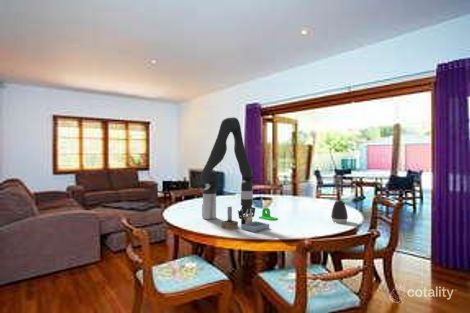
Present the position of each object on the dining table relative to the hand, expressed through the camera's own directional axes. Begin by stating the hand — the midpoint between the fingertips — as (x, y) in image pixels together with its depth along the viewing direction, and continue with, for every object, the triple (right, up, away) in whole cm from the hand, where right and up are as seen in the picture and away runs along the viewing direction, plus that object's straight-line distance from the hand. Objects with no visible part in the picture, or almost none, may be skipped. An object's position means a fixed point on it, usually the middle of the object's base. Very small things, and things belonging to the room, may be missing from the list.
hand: (246, 224), depth 185 cm
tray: (+5, -1, -8) cm, 9 cm away
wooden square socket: (-11, -1, -5) cm, 12 cm away
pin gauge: (-11, 0, -5) cm, 12 cm away
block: (0, -1, 0) cm, 1 cm away
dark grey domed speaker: (+62, -1, +9) cm, 62 cm away
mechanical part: (+16, -1, +18) cm, 24 cm away
